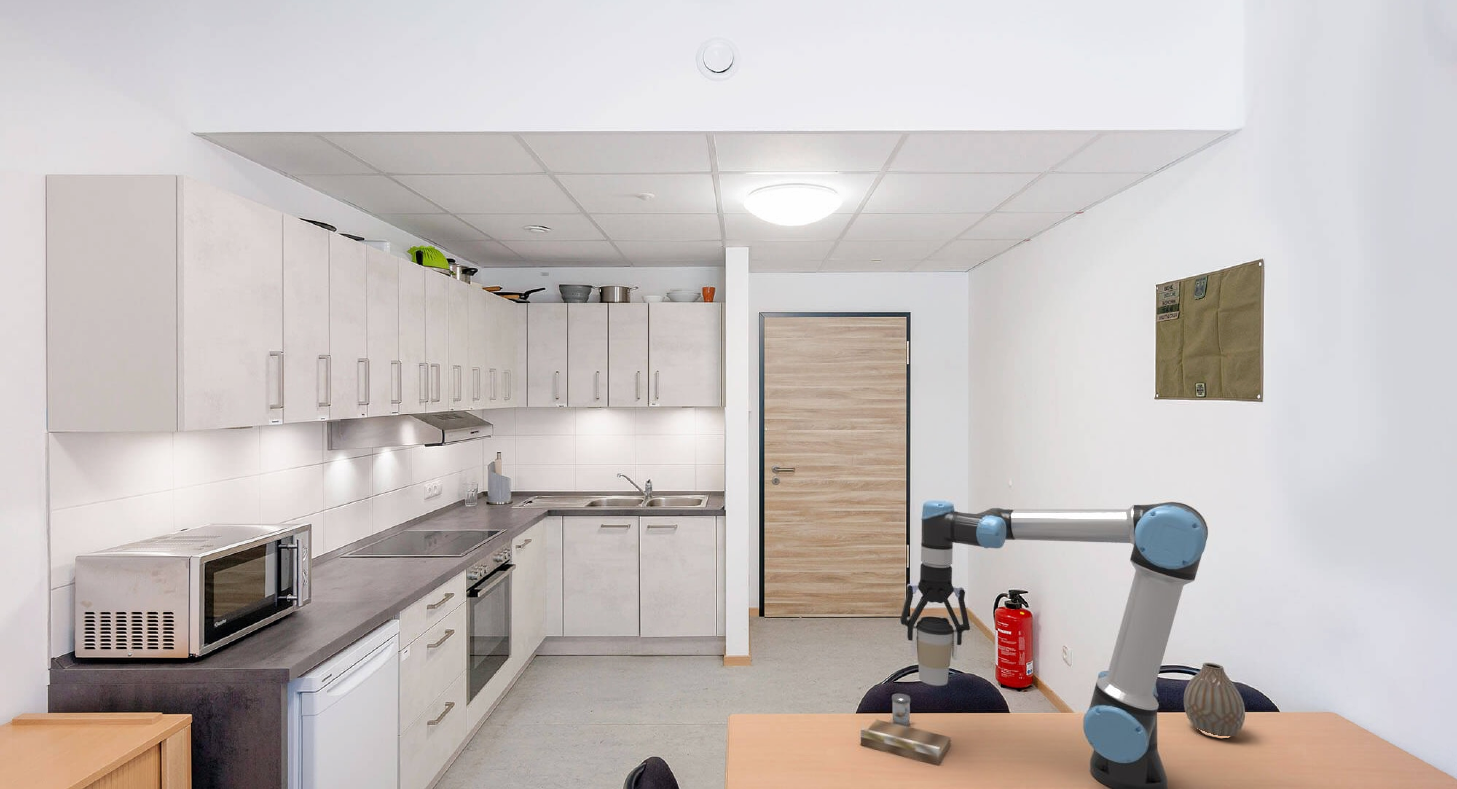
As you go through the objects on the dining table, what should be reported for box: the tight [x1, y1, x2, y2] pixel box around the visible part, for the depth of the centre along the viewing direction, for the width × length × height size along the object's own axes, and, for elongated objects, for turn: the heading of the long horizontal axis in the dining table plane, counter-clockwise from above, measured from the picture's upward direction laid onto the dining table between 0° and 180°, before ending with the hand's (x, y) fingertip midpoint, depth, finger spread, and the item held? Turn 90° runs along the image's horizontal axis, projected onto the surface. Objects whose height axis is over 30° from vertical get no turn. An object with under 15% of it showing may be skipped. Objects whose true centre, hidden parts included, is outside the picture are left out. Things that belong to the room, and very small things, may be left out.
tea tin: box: [891, 693, 911, 727], centre depth 183 cm, size 5×5×7 cm
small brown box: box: [860, 718, 952, 766], centre depth 171 cm, size 19×12×4 cm, turn 59°
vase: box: [1183, 662, 1246, 737], centre depth 180 cm, size 13×13×18 cm
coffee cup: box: [915, 615, 954, 687], centre depth 170 cm, size 9×9×15 cm
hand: (933, 655), depth 170 cm, fingers closed on coffee cup, 9 cm apart
